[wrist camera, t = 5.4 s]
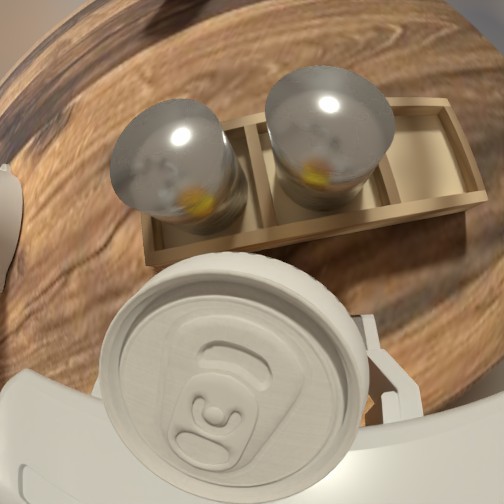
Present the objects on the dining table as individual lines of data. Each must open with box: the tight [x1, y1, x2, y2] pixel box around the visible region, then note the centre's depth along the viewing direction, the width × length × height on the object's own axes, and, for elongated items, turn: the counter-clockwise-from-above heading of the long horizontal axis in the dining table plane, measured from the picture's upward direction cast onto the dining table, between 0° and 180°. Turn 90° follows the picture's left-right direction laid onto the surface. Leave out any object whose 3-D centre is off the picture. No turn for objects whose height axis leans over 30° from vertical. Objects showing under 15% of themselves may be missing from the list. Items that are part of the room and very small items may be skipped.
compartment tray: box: [141, 97, 488, 268], centre depth 18 cm, size 25×9×4 cm, turn 100°
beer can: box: [99, 252, 370, 504], centre depth 12 cm, size 6×6×15 cm
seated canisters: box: [110, 66, 395, 236], centre depth 15 cm, size 14×6×7 cm, turn 100°
